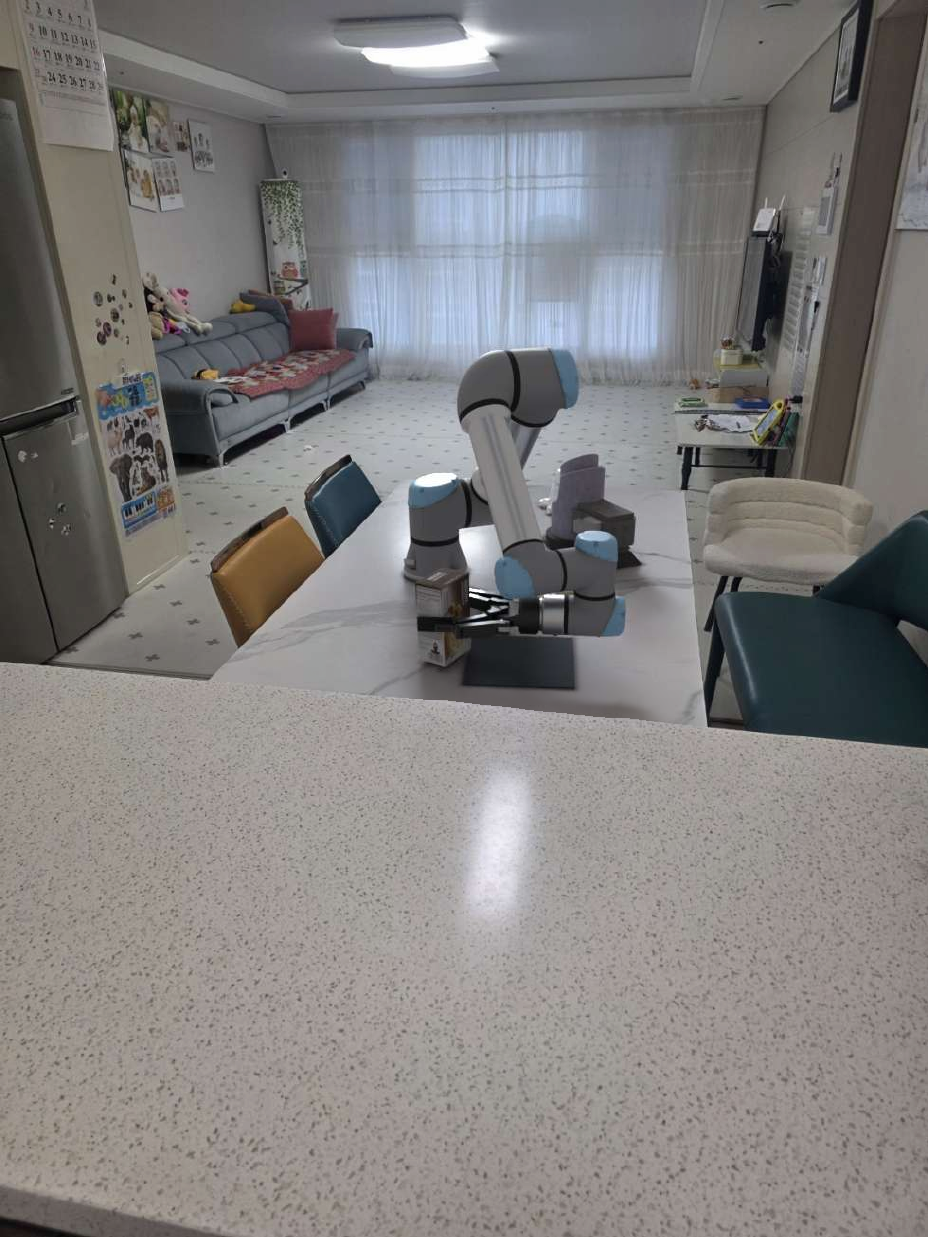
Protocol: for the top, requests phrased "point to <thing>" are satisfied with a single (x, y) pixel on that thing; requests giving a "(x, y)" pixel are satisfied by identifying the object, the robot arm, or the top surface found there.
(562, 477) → the coffee machine
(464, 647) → the coffee box
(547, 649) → the mat
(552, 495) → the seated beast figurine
